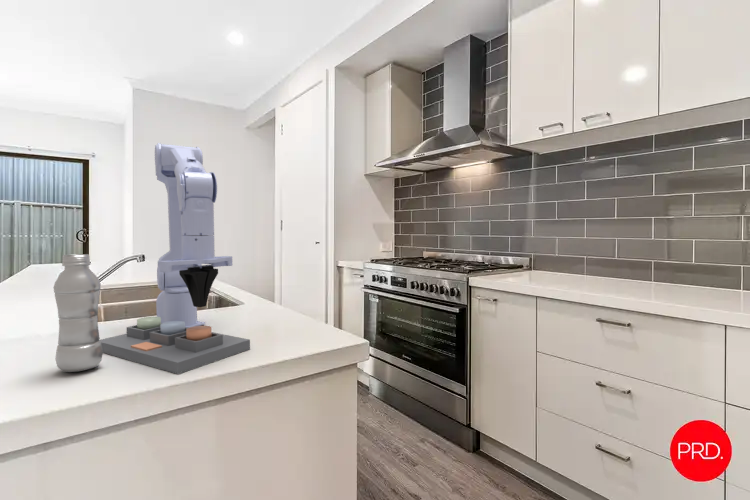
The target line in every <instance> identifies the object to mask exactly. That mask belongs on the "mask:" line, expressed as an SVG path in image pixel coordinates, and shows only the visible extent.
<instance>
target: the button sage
mask: <svg viewBox="0 0 750 500" xmlns="http://www.w3.org/2000/svg"><path fill="white" fill-rule="evenodd" d="M160 324H161V317H157V316H145V317H140V318H137V319H136V325H137V329H142V330H147V329H152V328H156V327H160Z"/></svg>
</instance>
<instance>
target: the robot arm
mask: <svg viewBox="0 0 750 500" xmlns="http://www.w3.org/2000/svg"><path fill="white" fill-rule="evenodd" d="M203 162H204V157H203V151H202V149H201V148H200V147H199V146H196V147H193V146H184V145H176V144H175V145H174V144H165V143H161V142H157V144H156V145H154V165H155V167H154V168H155V176H156V180H157V181H159V182H161V183H163V184H164V186H165V189H166V192H167V209H168V210H167V214H168V216H167V217H168V238H169V239H168V241H169V243H168V245H169V250H168V251H167V252H166V253H164V254H163V255H162V256H160V257H159V258H158V260H157V269H156V281H157V288H158V289H159V290H160V291H161V292H160V293H159V294H158V295H157V297H156V302H155V305H156V307H155V308H156V317H161V323H165V322H170V321H184V322H185V327H188V328H190V327H194V326H205V325H206V321H205V322H204V321H199V320H198V308H203V307H207V302H208V299H209V296H210V291H211V289H212V286H213V283H214V281H215V279H216V278H217V276H218V274H219V269H218V268H216V267H219V268H221V267H233V256H228V255H225V256H224V255H221V256H216V254H215V252H216V250H215V217H214V215H215V214H214V213H215V211H214V209H215V208H214V207H215V205H214V203H216V201H217V195H218V181H217V176H216V174H215V172H214V171H211V172H207V171H206V169H205V167H204V165H203V164H204V163H203Z"/></svg>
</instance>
